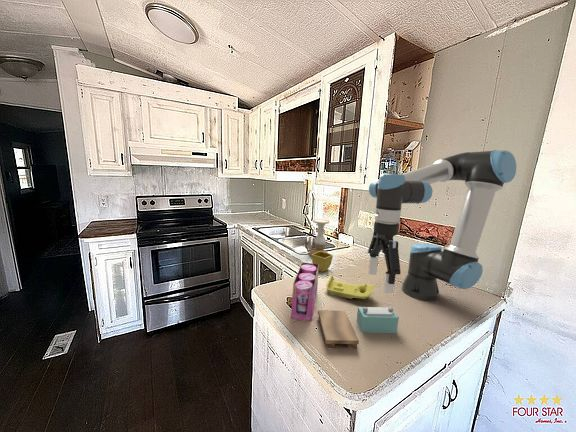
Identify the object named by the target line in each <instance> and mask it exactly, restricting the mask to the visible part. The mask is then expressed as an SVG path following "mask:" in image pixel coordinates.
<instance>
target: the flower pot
mask: <svg viewBox="0 0 576 432" xmlns="http://www.w3.org/2000/svg"><path fill="white" fill-rule="evenodd" d="M326 252H327V251H326ZM326 252H322V251H319V252H316V253H314V254H312V258H311V263H312V264H319V268H318V272H319V271H320V272H322V273H323V272H325V271H328V269H330V266H331V264H332V262H333V261H332V260H333V257H334V255H333V253H332V254H331V253H329V252H327V253H326Z"/></svg>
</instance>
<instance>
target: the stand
mask: <svg viewBox="0 0 576 432" xmlns="http://www.w3.org/2000/svg"><path fill="white" fill-rule="evenodd" d="M317 315H318V320H319V323H320V326H321V330H322V333H323V338H324V341H325V342H324V343H325V344H324V345H325V348H326V349H335V345H347V347H348V349H350V350H351V349H353V350H354V349H358V345H359V343H360V340H359V337H358V335H357V334H356V331H355V329H354V327H353V325H352V322H351V321H350V318H349V317H348V313H347V312H346V310H333V309H331V310H330V309H329V310H324V309H323V310H322V309H319V310H317Z"/></svg>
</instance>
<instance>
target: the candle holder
mask: <svg viewBox="0 0 576 432" xmlns="http://www.w3.org/2000/svg"><path fill="white" fill-rule="evenodd" d="M312 221H313V224H314V223H315V224H316V225H317V229H316V231H317V232H316V233H317V235H316V237H315V238H314V241H313V242H314V244H315V245H314V247H315V248H313V249H310V250H309V251H308V253H307V255H308V256H309V257H310V258H311V259H312V254H314V253H316V252H319V251H322V252H326V253H328V252H327V251H326V250H325V244H326V243H327V239H326V238H325V236H324V234H325V231H326V230H325V228H324V227H325V226H326V224H330V220H327V219H322V218H316V219H313V220H312Z"/></svg>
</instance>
